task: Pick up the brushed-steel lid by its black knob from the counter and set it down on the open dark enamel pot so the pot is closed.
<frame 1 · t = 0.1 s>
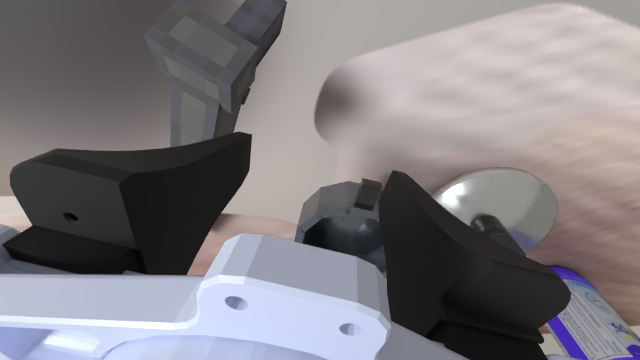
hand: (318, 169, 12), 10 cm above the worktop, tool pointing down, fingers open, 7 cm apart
lid: (475, 212, 25), on the worktop
pot: (348, 223, 27), on the worktop
handgun: (227, 137, 23), on the worktop
bottle: (549, 279, 29), on the worktop
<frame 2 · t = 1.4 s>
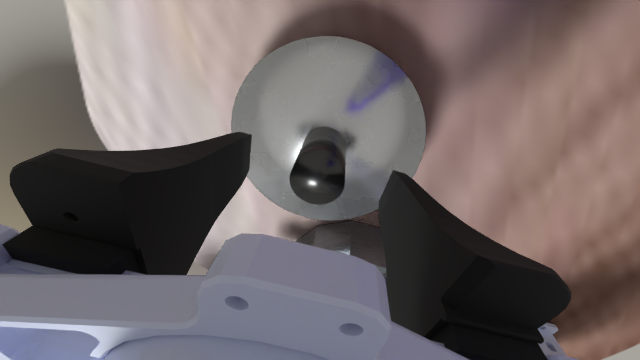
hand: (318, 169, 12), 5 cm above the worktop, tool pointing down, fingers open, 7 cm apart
lid: (327, 135, 16), on the worktop
pot: (348, 265, 23), on the worktop
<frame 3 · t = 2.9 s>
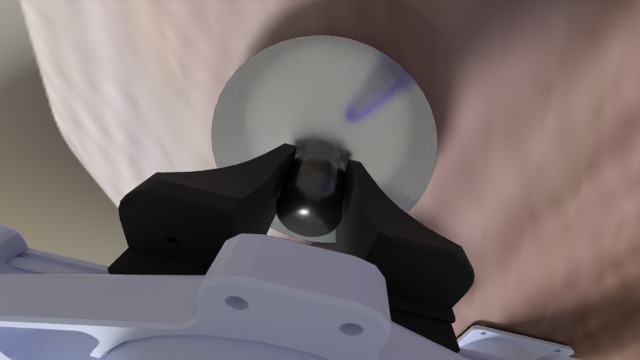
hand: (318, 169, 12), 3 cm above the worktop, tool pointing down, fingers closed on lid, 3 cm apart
lid: (323, 148, 14), on the worktop, touching gripper
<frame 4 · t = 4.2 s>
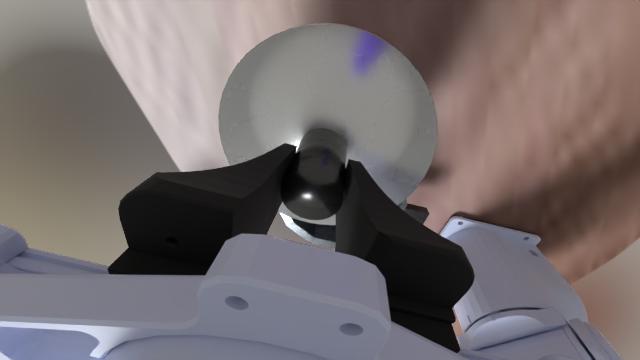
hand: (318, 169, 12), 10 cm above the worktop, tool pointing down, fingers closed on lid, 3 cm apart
lid: (326, 134, 15), point 6 cm above the worktop, touching gripper
pot: (340, 178, 24), on the worktop
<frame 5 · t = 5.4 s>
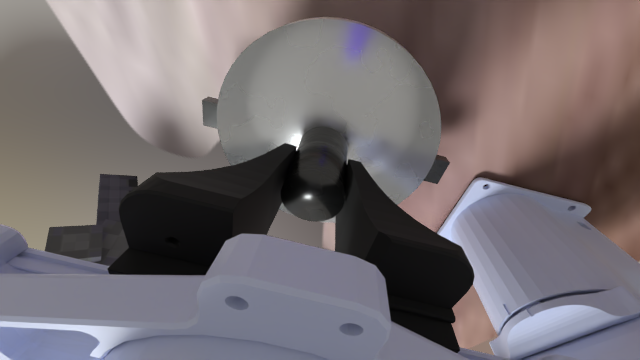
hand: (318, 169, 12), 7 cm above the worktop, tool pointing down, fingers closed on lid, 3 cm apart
lid: (327, 131, 14), point 4 cm above the worktop, tilted 7°, touching gripper, pot
pot: (329, 124, 18), on the worktop
handgun: (236, 230, 26), on the worktop
when the fingers open (7 cm above the worktop, at t = 5.8 s): lid stays where it is, resting on pot.
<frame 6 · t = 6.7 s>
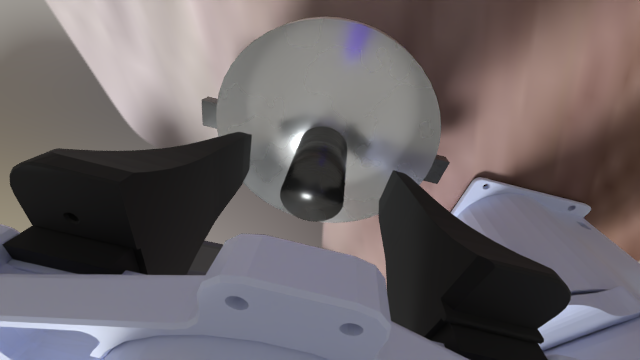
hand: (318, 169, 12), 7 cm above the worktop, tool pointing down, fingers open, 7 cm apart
lid: (327, 131, 14), point 4 cm above the worktop, tilted 7°, touching pot
pot: (328, 124, 18), on the worktop
handgun: (236, 230, 26), on the worktop
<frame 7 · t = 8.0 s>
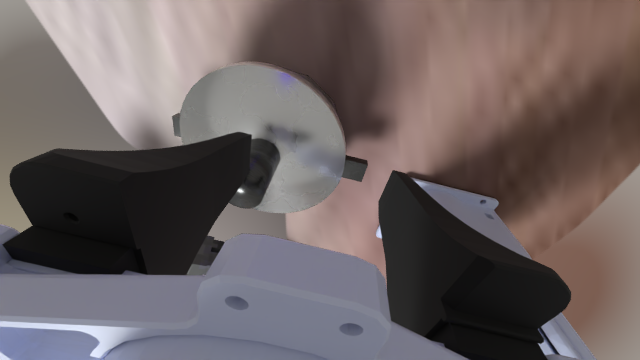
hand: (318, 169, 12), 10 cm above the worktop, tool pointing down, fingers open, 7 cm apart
lid: (270, 140, 18), point 4 cm above the worktop, tilted 7°, touching pot
pot: (281, 133, 22), on the worktop
handgun: (213, 223, 30), on the worktop
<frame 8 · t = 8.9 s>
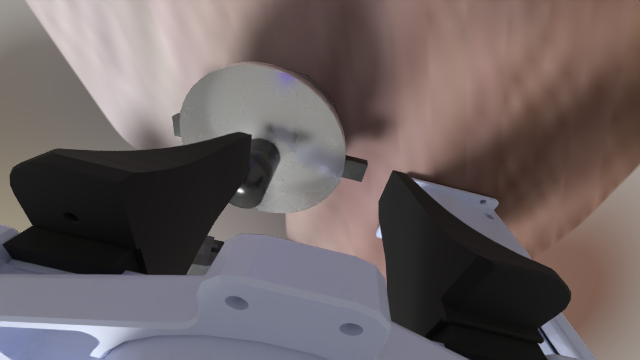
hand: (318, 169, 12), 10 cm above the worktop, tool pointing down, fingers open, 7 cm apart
lid: (270, 140, 18), point 4 cm above the worktop, tilted 7°, touching pot
pot: (281, 133, 22), on the worktop
handgun: (213, 223, 30), on the worktop
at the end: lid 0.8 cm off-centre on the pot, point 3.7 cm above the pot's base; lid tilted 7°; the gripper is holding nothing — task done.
